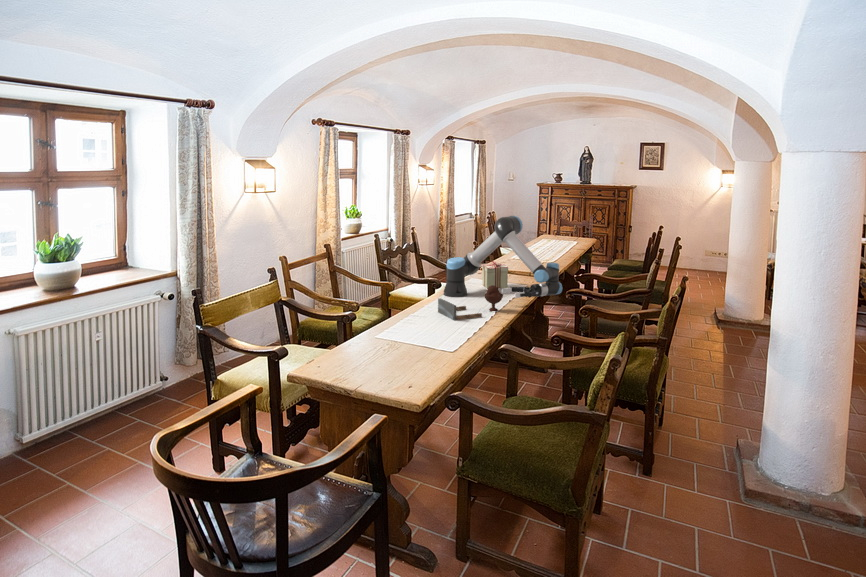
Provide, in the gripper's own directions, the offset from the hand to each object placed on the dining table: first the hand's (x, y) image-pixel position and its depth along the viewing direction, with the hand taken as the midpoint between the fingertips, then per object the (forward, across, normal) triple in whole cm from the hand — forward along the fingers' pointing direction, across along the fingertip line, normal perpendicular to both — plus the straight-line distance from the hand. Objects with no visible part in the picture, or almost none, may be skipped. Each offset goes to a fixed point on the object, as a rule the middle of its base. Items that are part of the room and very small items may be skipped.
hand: (508, 293), depth 346 cm
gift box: (-25, +57, -10) cm, 63 cm away
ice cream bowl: (+10, 0, -10) cm, 14 cm away
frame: (+31, 0, -9) cm, 33 cm away
